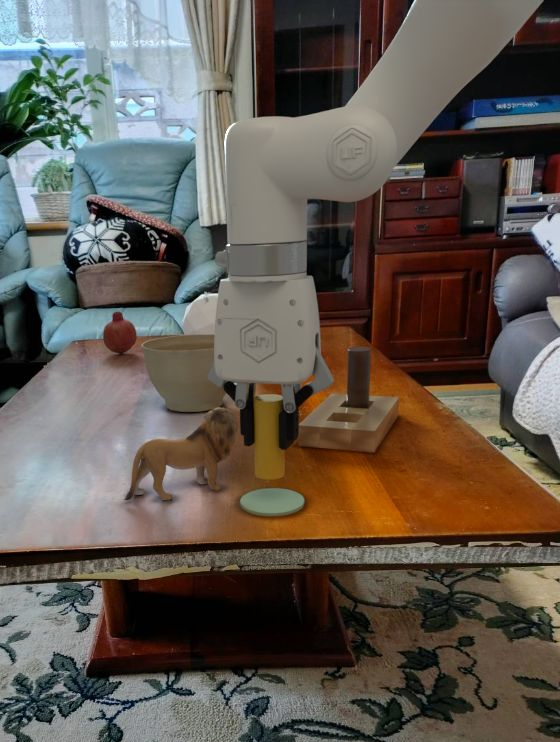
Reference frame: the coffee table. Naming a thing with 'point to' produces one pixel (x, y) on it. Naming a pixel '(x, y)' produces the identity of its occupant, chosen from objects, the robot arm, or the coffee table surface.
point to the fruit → (119, 334)
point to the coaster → (272, 502)
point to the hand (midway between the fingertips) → (269, 442)
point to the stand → (348, 424)
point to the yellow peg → (268, 437)
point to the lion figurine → (187, 453)
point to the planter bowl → (183, 371)
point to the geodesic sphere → (201, 315)
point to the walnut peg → (358, 377)
